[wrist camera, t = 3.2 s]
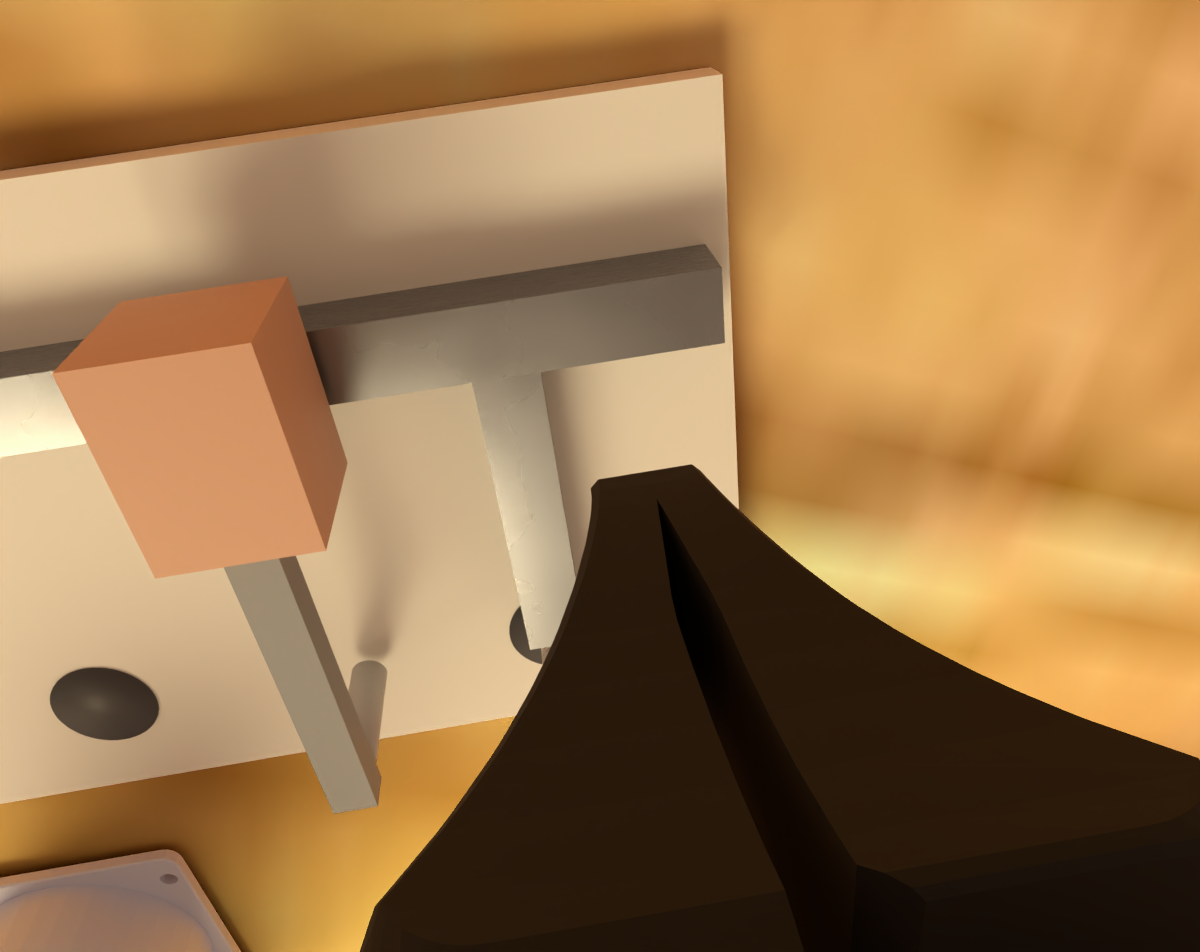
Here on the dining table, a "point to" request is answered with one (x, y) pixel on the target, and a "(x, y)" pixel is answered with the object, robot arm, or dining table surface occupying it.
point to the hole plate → (340, 410)
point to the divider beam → (466, 376)
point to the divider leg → (235, 486)
